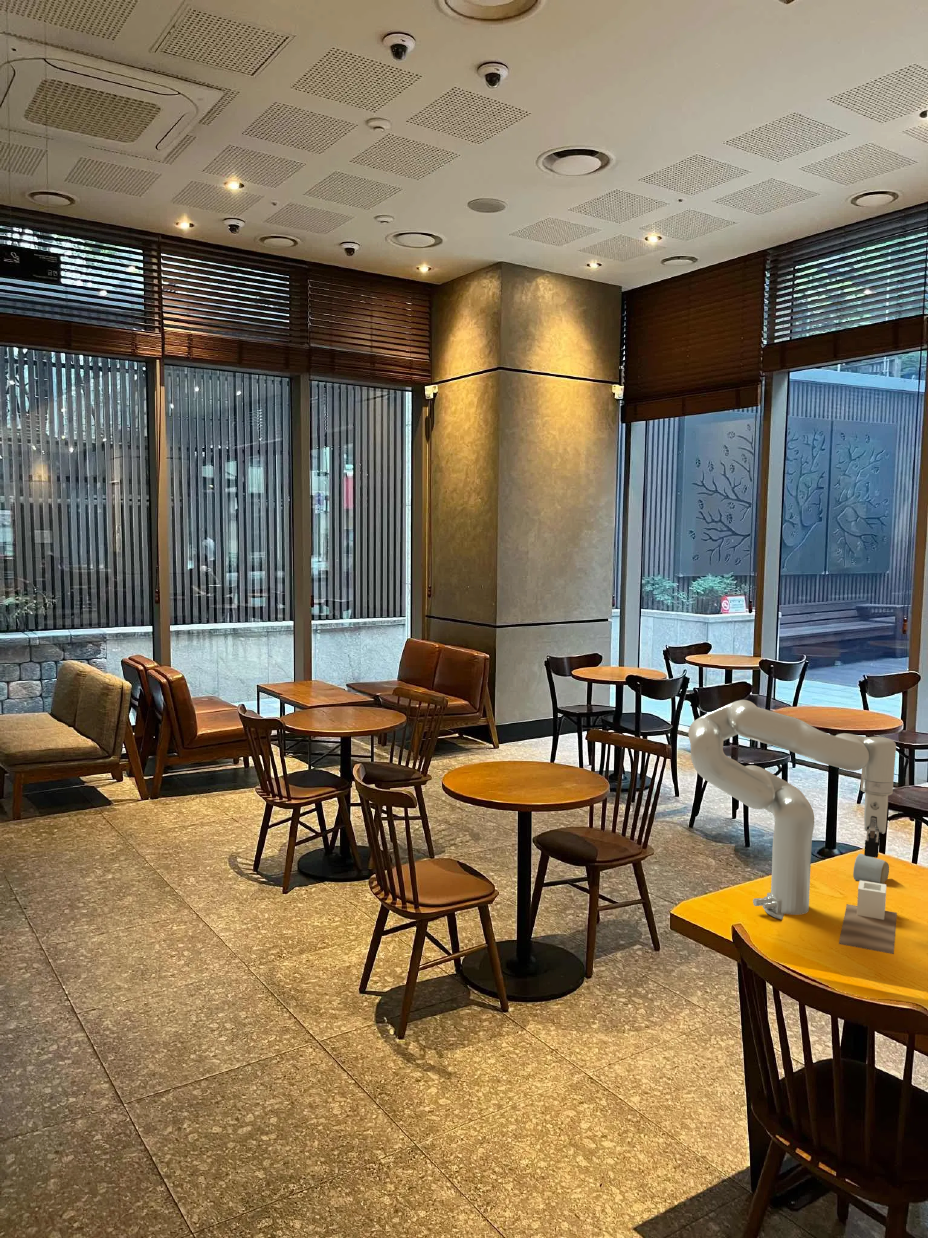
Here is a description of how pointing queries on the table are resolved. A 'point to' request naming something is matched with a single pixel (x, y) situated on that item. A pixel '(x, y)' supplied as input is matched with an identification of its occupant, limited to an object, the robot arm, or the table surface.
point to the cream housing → (871, 899)
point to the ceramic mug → (870, 869)
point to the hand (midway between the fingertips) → (872, 850)
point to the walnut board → (868, 931)
